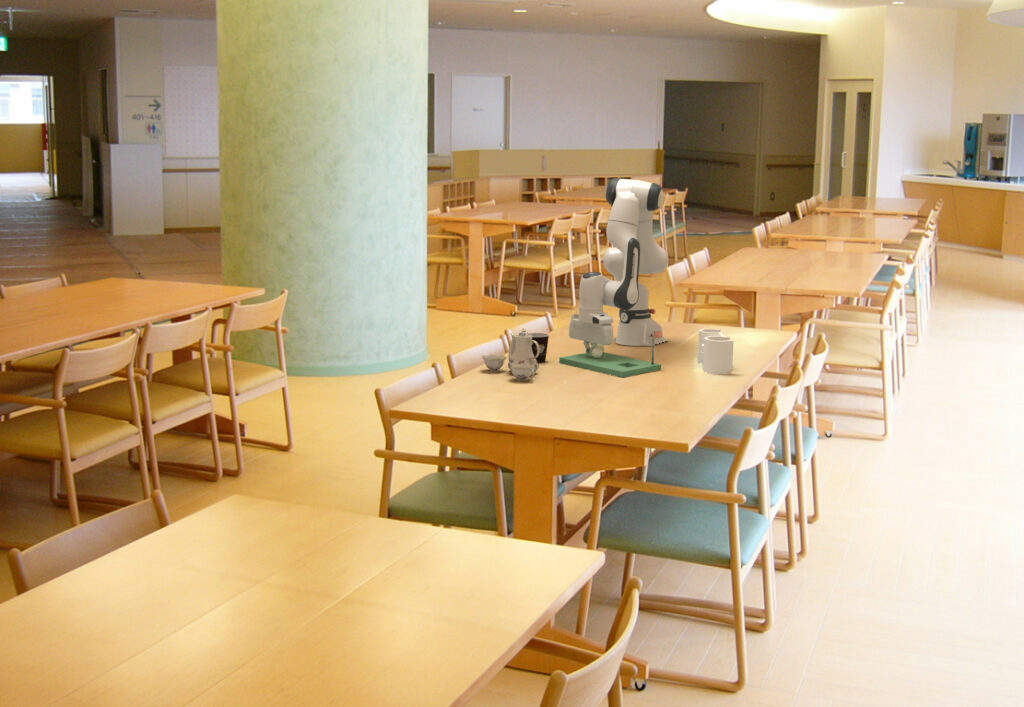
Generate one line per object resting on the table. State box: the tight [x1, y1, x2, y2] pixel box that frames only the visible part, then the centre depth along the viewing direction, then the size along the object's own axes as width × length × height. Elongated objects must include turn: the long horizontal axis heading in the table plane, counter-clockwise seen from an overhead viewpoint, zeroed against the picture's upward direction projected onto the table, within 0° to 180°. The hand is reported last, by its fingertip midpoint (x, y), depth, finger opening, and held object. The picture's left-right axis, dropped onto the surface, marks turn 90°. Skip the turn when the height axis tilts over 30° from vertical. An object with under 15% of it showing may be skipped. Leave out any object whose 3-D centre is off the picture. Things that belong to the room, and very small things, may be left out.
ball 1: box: [596, 344, 605, 352], centre depth 416 cm, size 4×4×4 cm
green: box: [558, 351, 662, 378], centre depth 402 cm, size 20×32×2 cm, turn 41°
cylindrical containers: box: [697, 328, 735, 375], centre depth 401 cm, size 25×10×12 cm, turn 0°
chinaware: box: [481, 328, 540, 382], centre depth 386 cm, size 28×17×17 cm, turn 39°
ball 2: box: [592, 347, 604, 358], centre depth 406 cm, size 4×4×4 cm
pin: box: [650, 330, 663, 365], centre depth 396 cm, size 5×1×12 cm, turn 130°
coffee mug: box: [528, 332, 550, 364], centre depth 409 cm, size 12×9×10 cm
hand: (590, 353), depth 409 cm, fingers closed
